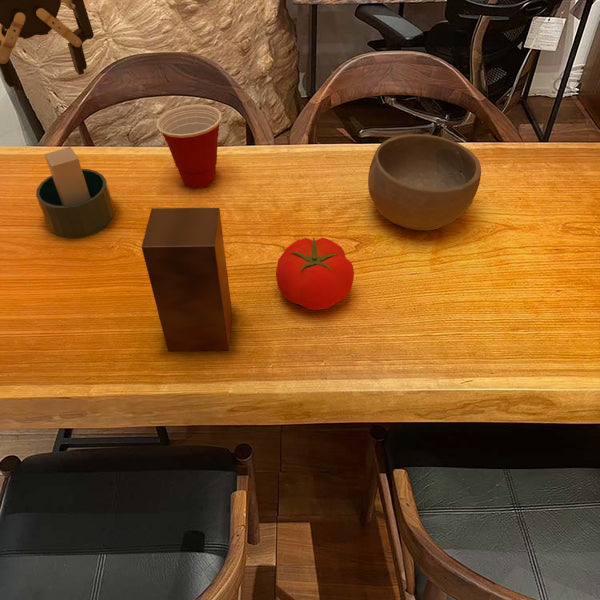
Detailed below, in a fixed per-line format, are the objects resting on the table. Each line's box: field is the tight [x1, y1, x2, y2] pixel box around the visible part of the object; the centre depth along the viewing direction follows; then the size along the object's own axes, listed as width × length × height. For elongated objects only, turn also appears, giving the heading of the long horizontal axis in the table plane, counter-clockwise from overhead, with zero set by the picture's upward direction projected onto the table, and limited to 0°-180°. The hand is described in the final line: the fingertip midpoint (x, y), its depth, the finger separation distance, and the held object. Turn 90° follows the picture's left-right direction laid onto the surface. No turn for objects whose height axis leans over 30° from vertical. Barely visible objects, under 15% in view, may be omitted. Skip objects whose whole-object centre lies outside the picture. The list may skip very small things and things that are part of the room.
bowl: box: [367, 133, 482, 231], centre depth 94 cm, size 17×18×10 cm
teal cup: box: [35, 168, 115, 239], centre depth 94 cm, size 11×11×6 cm
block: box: [44, 146, 91, 206], centre depth 92 cm, size 4×4×11 cm
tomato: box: [275, 237, 355, 311], centre depth 82 cm, size 11×11×8 cm
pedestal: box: [141, 207, 233, 352], centre depth 73 cm, size 8×7×18 cm
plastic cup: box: [155, 103, 222, 189], centre depth 100 cm, size 11×11×12 cm
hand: (48, 80), depth 79 cm, fingers open, 8 cm apart
